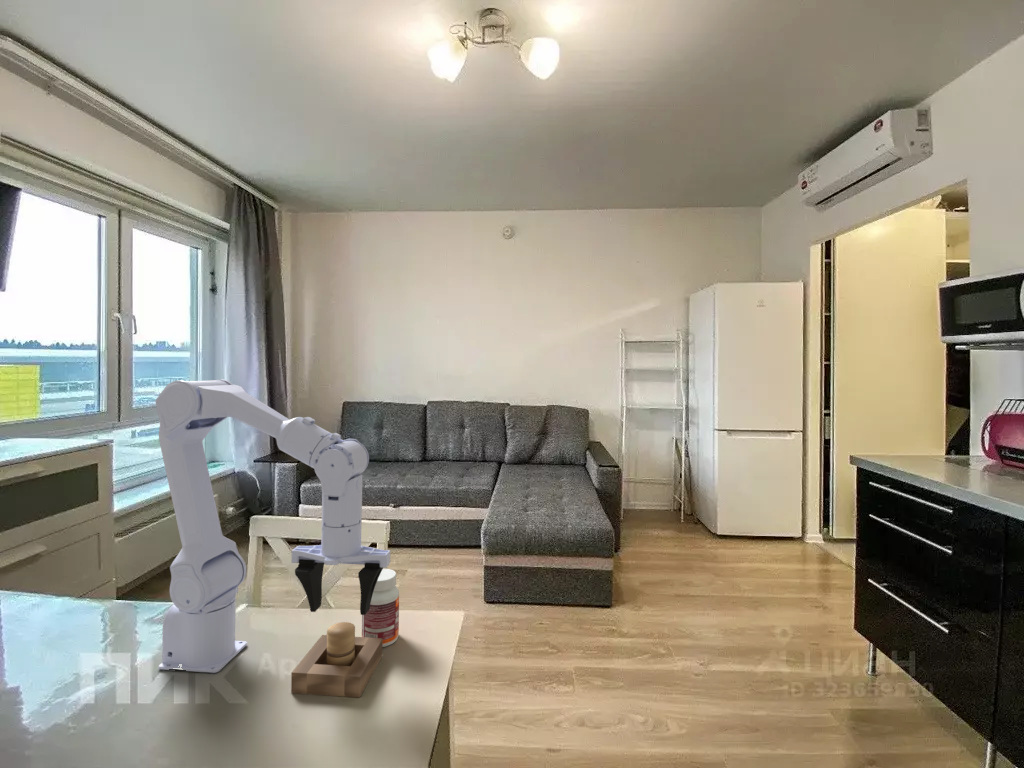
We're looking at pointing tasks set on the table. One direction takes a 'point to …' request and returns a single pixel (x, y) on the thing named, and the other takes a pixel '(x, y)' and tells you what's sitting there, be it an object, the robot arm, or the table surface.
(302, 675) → the board
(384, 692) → the table surface
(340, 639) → the peg
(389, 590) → the pill bottle
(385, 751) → the table surface
